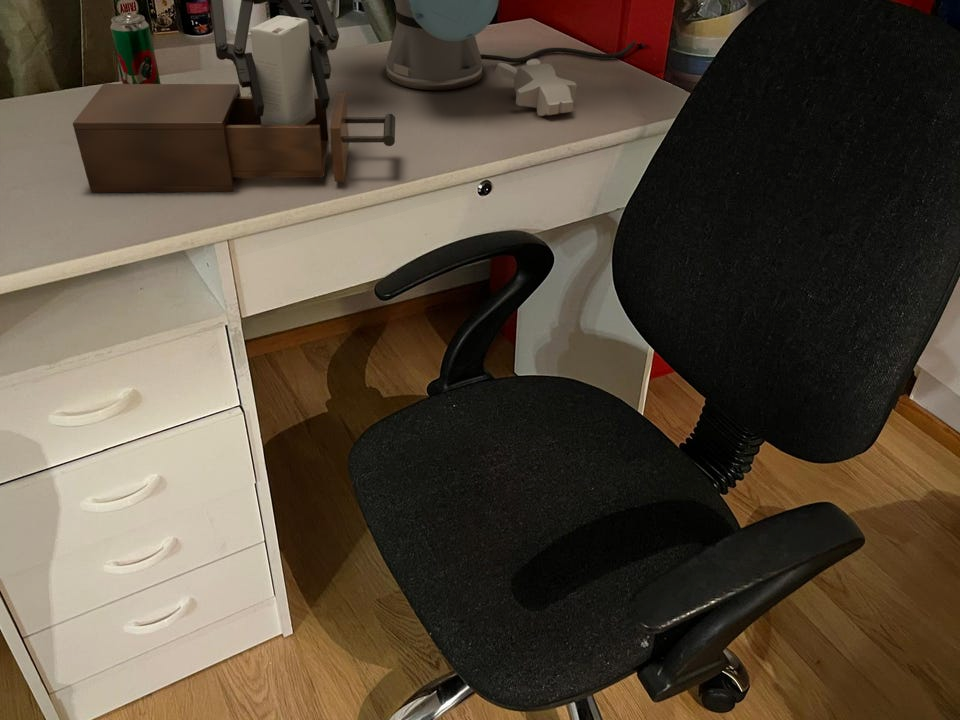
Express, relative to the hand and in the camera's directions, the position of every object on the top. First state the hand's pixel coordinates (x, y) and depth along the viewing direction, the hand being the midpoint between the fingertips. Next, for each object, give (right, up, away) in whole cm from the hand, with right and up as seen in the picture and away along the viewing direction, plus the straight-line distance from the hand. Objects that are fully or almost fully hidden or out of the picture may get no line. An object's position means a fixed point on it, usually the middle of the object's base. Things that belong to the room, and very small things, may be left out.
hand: (293, 107), depth 101 cm
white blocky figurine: (+30, +9, +29) cm, 43 cm away
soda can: (-27, +7, +24) cm, 36 cm away
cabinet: (-17, -6, +7) cm, 19 cm away
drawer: (0, -5, +8) cm, 9 cm away
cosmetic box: (-2, -1, +5) cm, 5 cm away
